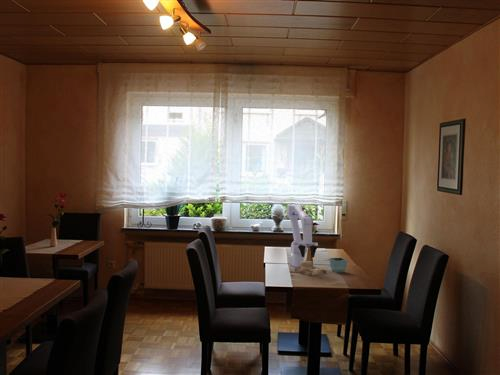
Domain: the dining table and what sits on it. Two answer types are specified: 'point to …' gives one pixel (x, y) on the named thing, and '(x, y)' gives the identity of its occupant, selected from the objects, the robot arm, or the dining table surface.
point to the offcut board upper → (315, 270)
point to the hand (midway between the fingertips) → (307, 257)
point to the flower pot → (338, 264)
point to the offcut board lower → (317, 273)
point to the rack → (308, 272)
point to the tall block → (306, 265)
